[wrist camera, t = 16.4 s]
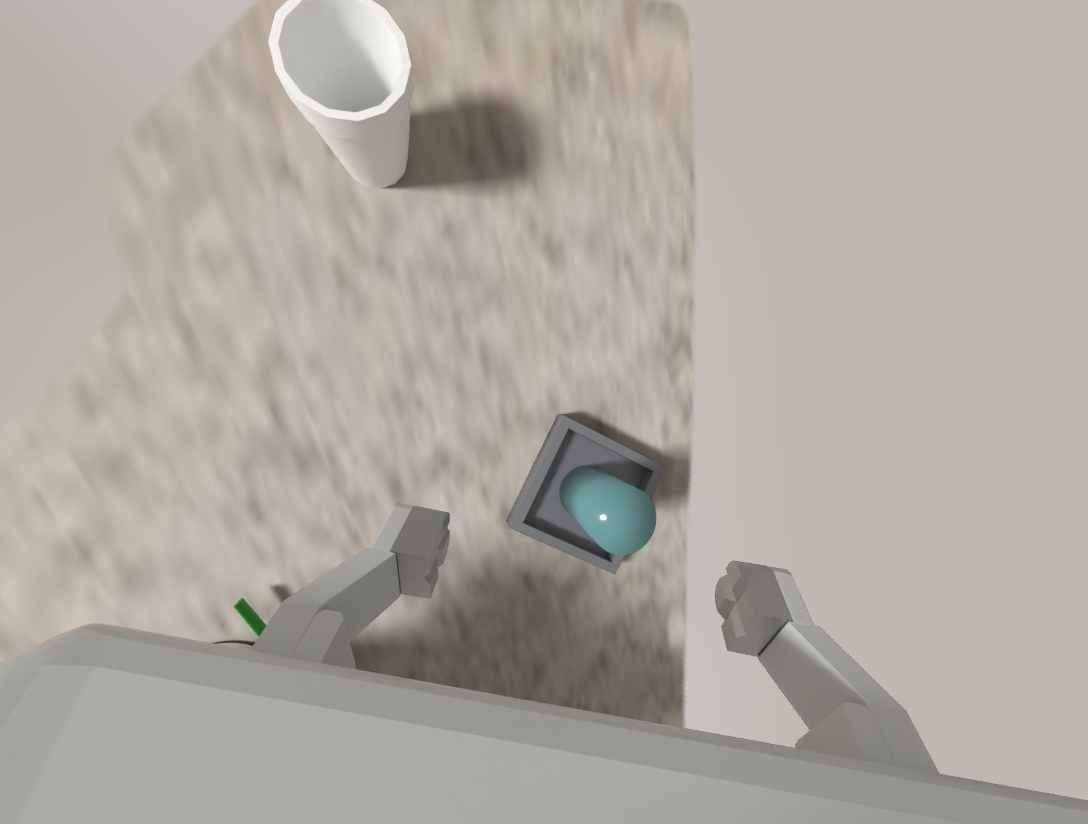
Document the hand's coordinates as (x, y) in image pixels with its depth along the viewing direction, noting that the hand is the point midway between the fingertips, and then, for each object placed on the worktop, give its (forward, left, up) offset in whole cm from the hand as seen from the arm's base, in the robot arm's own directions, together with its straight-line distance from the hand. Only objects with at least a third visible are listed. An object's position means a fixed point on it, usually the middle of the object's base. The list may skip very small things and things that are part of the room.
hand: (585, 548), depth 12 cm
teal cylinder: (0, -12, -33) cm, 35 cm away
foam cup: (+21, +23, -35) cm, 47 cm away
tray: (0, -12, -35) cm, 37 cm away
